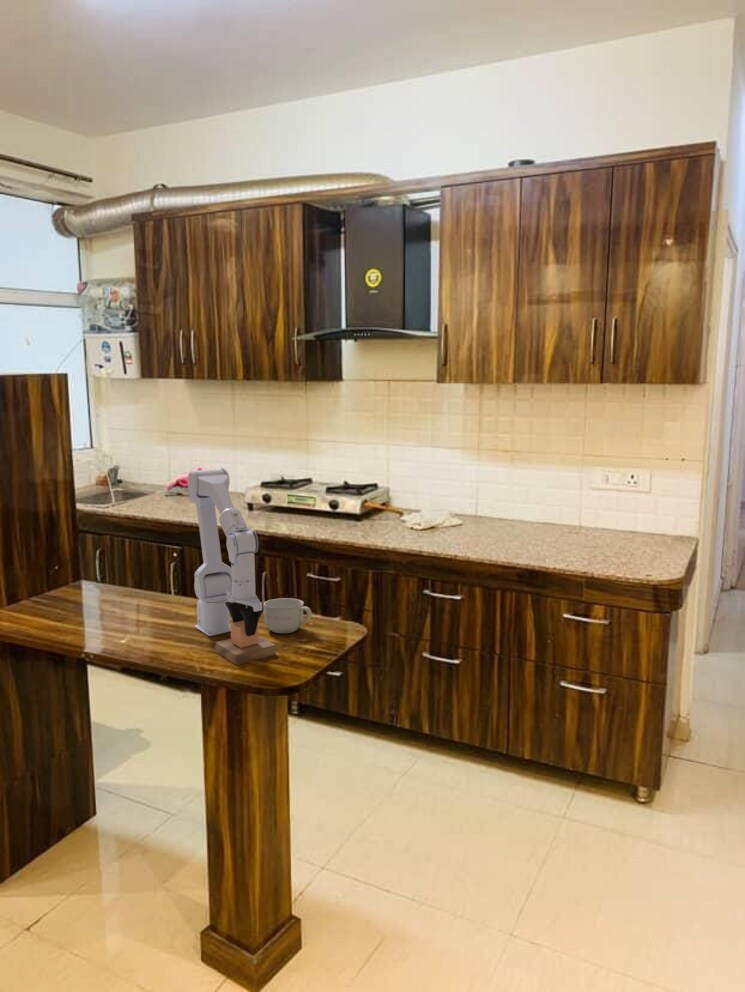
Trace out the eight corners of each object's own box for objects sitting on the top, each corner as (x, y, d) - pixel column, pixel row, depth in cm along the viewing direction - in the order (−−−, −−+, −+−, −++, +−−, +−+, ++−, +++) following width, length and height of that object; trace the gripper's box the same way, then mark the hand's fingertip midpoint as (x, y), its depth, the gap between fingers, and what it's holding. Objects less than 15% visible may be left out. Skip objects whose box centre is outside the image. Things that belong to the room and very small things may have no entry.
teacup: (256, 631, 205) (255, 603, 204) (284, 620, 214) (283, 593, 213) (293, 642, 197) (292, 613, 196) (321, 631, 205) (320, 603, 204)
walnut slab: (215, 653, 191) (215, 642, 190) (253, 643, 197) (253, 632, 197) (236, 666, 182) (236, 655, 182) (275, 656, 189) (275, 644, 188)
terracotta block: (231, 642, 190) (230, 623, 189) (248, 638, 193) (247, 619, 192) (241, 647, 186) (240, 628, 185) (258, 643, 189) (258, 624, 188)
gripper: (215, 575, 190) (217, 627, 192) (243, 588, 178) (244, 643, 181) (240, 570, 194) (241, 621, 196) (269, 583, 183) (270, 637, 185)
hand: (244, 631), depth 189 cm, fingers open, 5 cm apart
